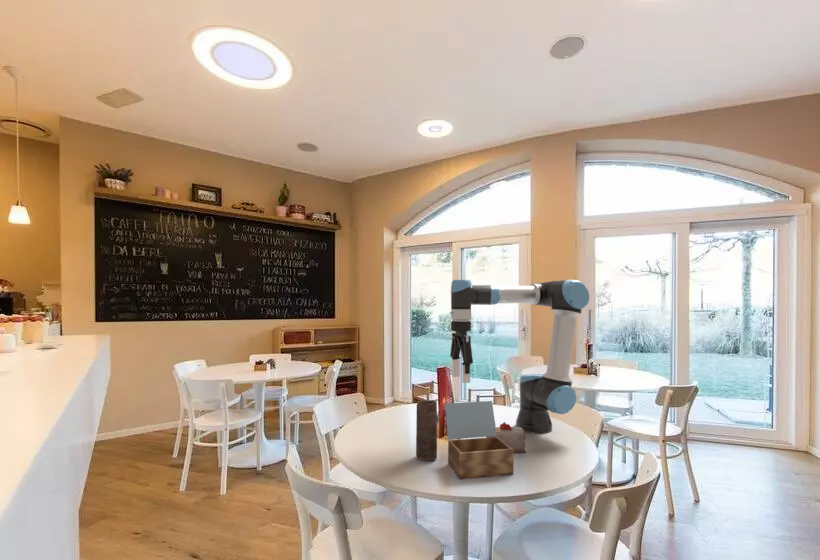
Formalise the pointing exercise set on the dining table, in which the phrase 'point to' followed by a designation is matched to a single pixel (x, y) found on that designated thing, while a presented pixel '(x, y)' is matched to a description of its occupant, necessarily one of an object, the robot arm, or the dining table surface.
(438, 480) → the dining table surface
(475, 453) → the box
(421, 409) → the candle
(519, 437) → the food item
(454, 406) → the lid
